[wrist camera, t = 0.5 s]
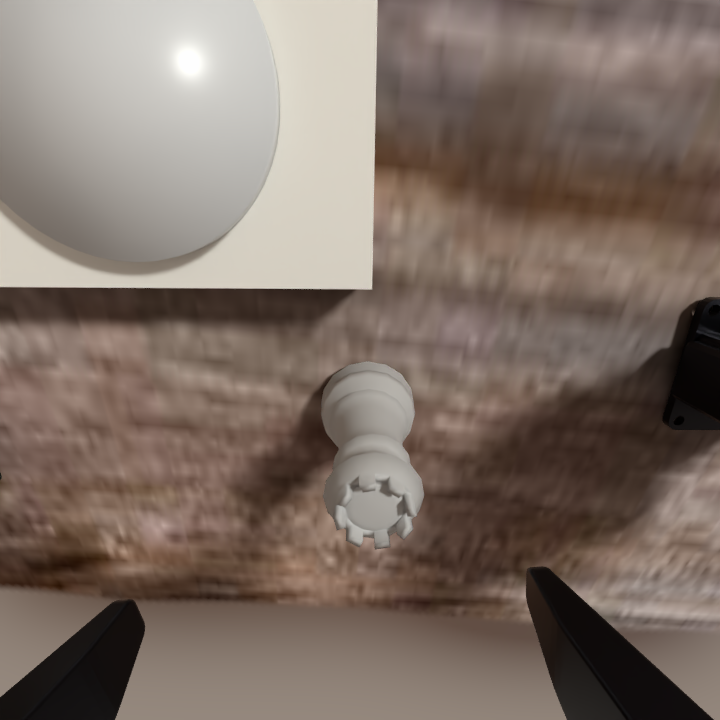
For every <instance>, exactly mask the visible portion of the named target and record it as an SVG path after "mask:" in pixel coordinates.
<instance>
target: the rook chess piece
mask: <svg viewBox="0 0 720 720" xmlns="http://www.w3.org/2000/svg"><path fill="white" fill-rule="evenodd" d="M321 408H322V411H321V417H322V420H323V424H324V428H325V431H326V433H327V435H328V436H329V437H330V438H331V440H332V441H333V442H334V443H335V445H336V446H337V447H338V448H339V451H338V452H337V454H336V455H335V458H334V463H333V468H332V469H333V472H332V473H331V475H330V476H329V477H328V479H327V480H326V484H325V489H324V494H323V498H324V501H325V505H326V508H327V512H328V513H329V514H330V515H331V516H332V518H333V519H334V522H335V525H336V529H337V530H339V529H342V528H345V529H346V541H348V542H350V543H352V544H354V545H356V546H358V547H360V545H361V543H362V542H363V537H368V538H374V543H375V549H381V548H387V547H390V538H389V536H390V535H392V534H393V533H395V532H397V535H398V536H400V537H401V538H402V539H403V540H404V539H405V538H406V537H407V536H408V535H409V533H410V532H411V531H412V530H413V526H412V519H413V518H414V517H417V513H418V512H419V511H420V507H421V504H422V501H423V498H424V491H423V485H422V480H421V478H420V476H419V475H418V474H417V472H416V471H415V470H414V468H413V467H412V466H411V465H410V459H409V454H408V453H407V452H406V450H405V449H404V448H403V446H402V442H403V441H404V440H405V438H406V437H407V436H408V434H409V433H410V430H411V426H412V423H413V419H414V415H415V410H414V402H413V397H412V391H411V388H410V386H409V385H408V383H407V382H406V380H405V379H404V377H403V376H402V375H401V374H400V373H398V372H397V371H395V370H394V369H392V368H390V367H389V366H387V365H385V364H379V363H373V362H368V361H367V362H362V363H357V364H352V365H348V366H347V367H345V368H344V369H342V370H341V371H339V372H337V373H336V374H334V375H333V376H332V378H331V379H330V381H329V382H328V384H327V385H326V387H325V388H324V390H323V396H322V402H321Z"/></svg>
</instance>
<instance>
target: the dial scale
mask: <svg viewBox="0 0 720 720" xmlns="http://www.w3.org/2000/svg"><path fill="white" fill-rule="evenodd" d="M376 49H377V0H0V287H78V288H241V289H372V262H373V209H374V156H375V103H376Z"/></svg>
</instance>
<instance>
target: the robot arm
mask: <svg viewBox="0 0 720 720" xmlns="http://www.w3.org/2000/svg"><path fill="white" fill-rule="evenodd" d="M712 306H713V309H712V310H711V311H710V312H709V309H710V307H712ZM677 417H678V418H677ZM675 418H677V419H676V420H675ZM674 420H675V421H674ZM663 422H664V424H666V425H667V426H669V427H670V428H672V429H675V430H720V297H709V298H705V299H703V300H702V301H701V302H700V303H699V304H698V305H697V307H696V310H695V313H694V316H693V320H692V323H691V326H690V330H689V333H688V336H687V339H686V343H685V346H684V349H683V353H682V356H681V359H680V362H679V366H678V369H677V372H676V376H675V379H674V382H673V385H672V389H671V392H670V395H669V399H668V402H667V405H666V409H665V412H664V415H663ZM526 599H527V604H528V608H529V611H530V614H531V617H532V620H533V624H534V627H535V629H536V633H537V636H538V639H539V642H540V646H541V649H542V652H543V655H544V658H545V662H546V665H547V668H548V671H549V674H550V677H551V680H552V683H553V686H554V689H555V692H556V694H557V697H558V699H559V702H560V704H561V706H562V709H563V711H564V713H565V716H566V718H567V720H714V719H712V718H711V717H710V716H709V715H708V714H707V713H706V712H705V711H704V710H703V709H702V708H700V707H699V706H698V705H697V704H696V703H695V702H694V701H693V700H692V699H691V698H689V697H688V696H687V695H686V694H685V693H684V692H683V691H682V690H681V689H680V688H679V687H677V686H676V685H675V684H674V683H673V682H672V681H671V680H670V679H669V678H668V677H667V676H666V675H664V674H663V673H662V672H661V671H660V670H659V669H658V668H656V666H655V665H654V664H652V663H651V662H650V661H649V660H648V659H647V658H646V657H645V656H644V655H643V654H642V653H640V652H639V651H638V650H637V649H636V648H635V647H634V646H633V645H632V644H630V642H628V641H627V640H626V639H625V638H624V637H623V636H622V635H621V634H620V633H619V632H618V631H616V630H615V629H614V628H613V627H612V626H611V625H610V624H609V623H608V622H607V621H606V620H604V619H603V618H602V617H601V616H600V615H599V614H598V613H597V612H596V611H595V610H594V609H592V608H591V607H590V606H589V605H588V604H587V603H586V602H585V601H584V600H583V599H582V598H580V597H579V596H578V595H577V594H576V593H575V592H574V591H573V590H572V589H571V588H570V587H569V586H567V585H566V584H565V583H564V582H563V581H562V580H561V579H560V578H559V577H558V576H557V575H555V574H554V573H553V572H552V571H551V570H550V569H549V568H547V567H530V568H528V569H527V573H526ZM144 632H145V623H144V621H143V618H142V616H141V614H140V611H139V610H138V607H137V605H136V603H135V601H133V600H131V599H127V600H117V601H114V602H112V603H111V604H110V605H109V606H107V607H106V608H105V609H104V610H103V611H102V612H100V613H99V614H98V615H97V616H96V617H95V618H93V619H92V620H91V621H90V622H89V623H87V624H86V625H85V626H84V627H83V628H81V629H80V630H79V631H78V632H77V633H76V634H75V635H73V636H72V637H71V638H70V639H68V640H67V641H66V642H65V643H64V644H63V645H61V646H60V647H59V648H58V649H57V650H56V651H54V652H53V653H52V654H51V655H50V656H48V657H47V658H46V659H45V660H44V661H43V662H41V663H40V664H39V665H38V666H37V667H36V668H34V669H33V670H32V671H31V672H30V673H28V674H27V675H26V676H25V677H24V678H23V679H22V680H20V681H19V682H18V683H17V684H15V685H14V686H13V687H12V688H11V689H10V690H8V691H7V692H6V693H5V694H4V695H3V696H1V697H0V720H115V718H116V716H117V713H118V710H119V707H120V705H121V702H122V699H123V696H124V693H125V690H126V687H127V684H128V681H129V678H130V675H131V672H132V669H133V666H134V663H135V660H136V657H137V654H138V651H139V648H140V645H141V642H142V639H143V636H144Z"/></svg>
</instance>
